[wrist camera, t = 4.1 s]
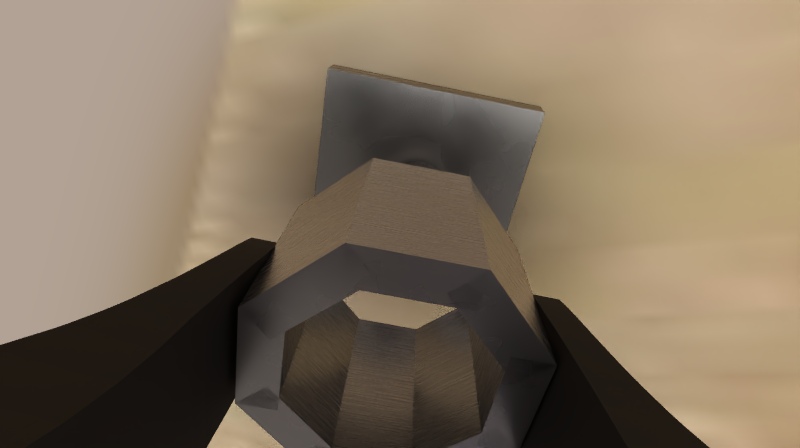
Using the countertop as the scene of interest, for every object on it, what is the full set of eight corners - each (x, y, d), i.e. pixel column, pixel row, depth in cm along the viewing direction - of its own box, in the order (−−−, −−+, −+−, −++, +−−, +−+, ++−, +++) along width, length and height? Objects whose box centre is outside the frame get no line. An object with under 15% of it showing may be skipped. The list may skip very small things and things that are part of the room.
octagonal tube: (476, 363, 13) (494, 502, 10) (287, 329, 13) (233, 458, 9) (537, 189, 11) (591, 288, 7) (304, 144, 10) (240, 223, 7)
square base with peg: (485, 280, 19) (495, 354, 15) (313, 245, 18) (279, 311, 15) (540, 107, 15) (572, 144, 12) (333, 65, 15) (296, 88, 12)
